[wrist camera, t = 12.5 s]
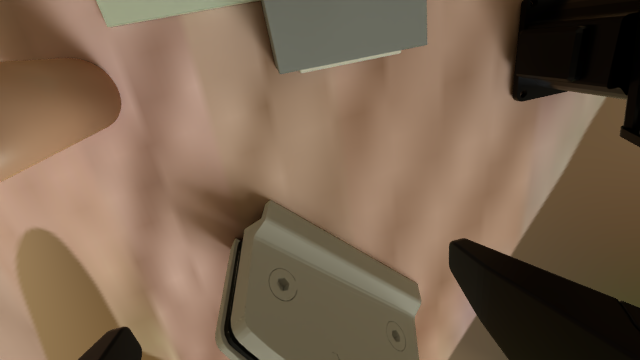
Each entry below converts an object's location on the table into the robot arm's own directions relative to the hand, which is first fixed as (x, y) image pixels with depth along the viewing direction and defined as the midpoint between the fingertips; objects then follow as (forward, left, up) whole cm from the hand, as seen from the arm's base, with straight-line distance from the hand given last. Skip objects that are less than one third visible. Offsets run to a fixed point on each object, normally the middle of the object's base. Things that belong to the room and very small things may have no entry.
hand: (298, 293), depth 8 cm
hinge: (-1, +12, -13) cm, 18 cm away
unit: (-5, -7, -13) cm, 15 cm away
